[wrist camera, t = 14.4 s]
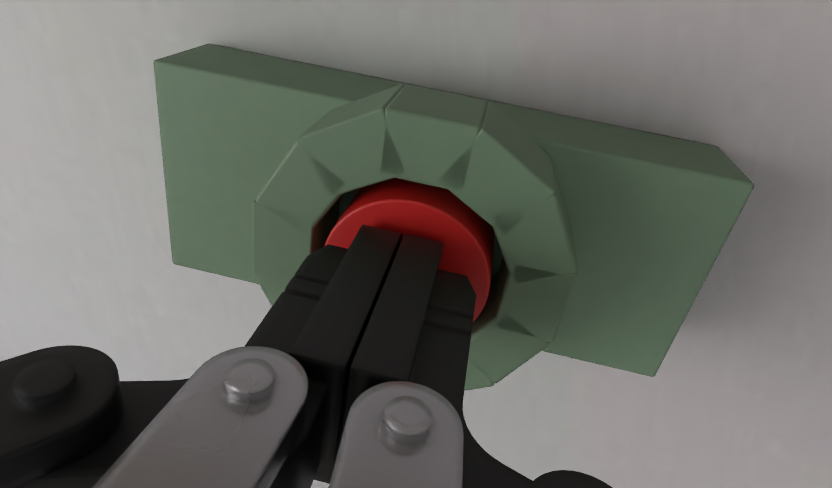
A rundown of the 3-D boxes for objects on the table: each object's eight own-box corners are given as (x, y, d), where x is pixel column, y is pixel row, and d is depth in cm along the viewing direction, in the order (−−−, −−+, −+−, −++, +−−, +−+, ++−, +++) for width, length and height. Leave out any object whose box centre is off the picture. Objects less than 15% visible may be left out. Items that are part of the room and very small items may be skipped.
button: (511, 182, 10) (509, 222, 9) (477, 310, 12) (470, 361, 11) (354, 149, 11) (327, 182, 9) (341, 278, 12) (316, 324, 11)
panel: (731, 122, 11) (819, 197, 8) (630, 337, 15) (663, 457, 11) (206, 18, 12) (83, 45, 9) (216, 241, 15) (127, 325, 12)
